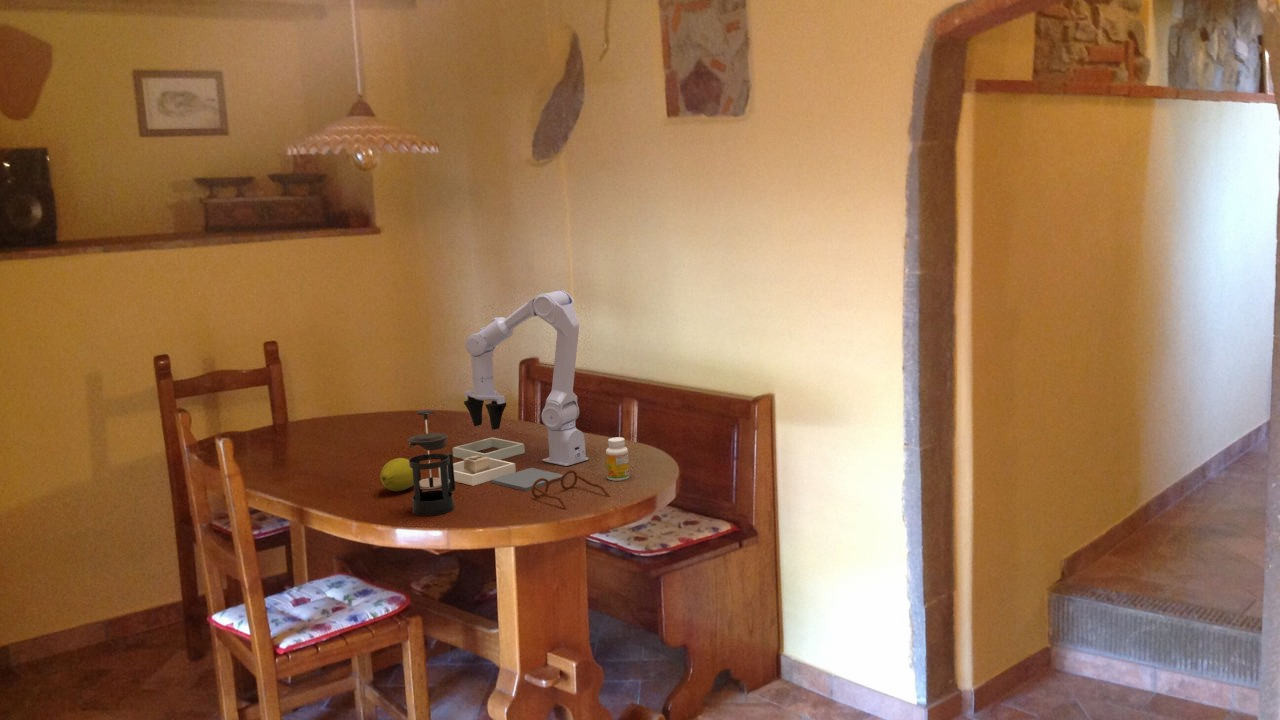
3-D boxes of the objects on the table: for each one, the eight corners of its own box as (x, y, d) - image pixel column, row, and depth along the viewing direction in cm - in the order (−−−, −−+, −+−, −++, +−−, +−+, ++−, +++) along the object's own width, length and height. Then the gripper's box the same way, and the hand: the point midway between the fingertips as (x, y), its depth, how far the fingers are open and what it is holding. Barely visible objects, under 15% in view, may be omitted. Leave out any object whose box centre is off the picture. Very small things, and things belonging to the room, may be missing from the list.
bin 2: (515, 473, 280) (515, 463, 280) (472, 485, 270) (472, 475, 270) (481, 465, 289) (481, 455, 289) (439, 477, 280) (438, 467, 279)
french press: (430, 519, 245) (421, 417, 241) (401, 513, 251) (392, 413, 247) (468, 505, 254) (460, 406, 251) (439, 499, 260) (431, 403, 256)
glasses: (575, 488, 266) (574, 467, 265) (611, 498, 256) (609, 477, 255) (531, 500, 257) (529, 479, 256) (565, 511, 247) (564, 489, 246)
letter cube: (490, 475, 280) (488, 457, 279) (476, 479, 277) (474, 461, 276) (478, 472, 283) (477, 454, 282) (464, 476, 280) (463, 458, 279)
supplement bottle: (604, 477, 272) (602, 438, 271) (625, 474, 274) (622, 435, 273) (611, 482, 267) (609, 442, 266) (632, 479, 269) (630, 440, 268)
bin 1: (524, 452, 300) (524, 443, 300) (485, 463, 291) (484, 454, 290) (492, 446, 310) (492, 437, 309) (453, 456, 300) (452, 447, 300)
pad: (566, 478, 273) (566, 475, 272) (525, 491, 263) (525, 487, 263) (531, 470, 282) (531, 467, 281) (491, 482, 272) (490, 479, 272)
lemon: (404, 483, 276) (401, 452, 274) (426, 487, 271) (424, 455, 270) (370, 494, 267) (367, 462, 266) (393, 499, 263) (390, 466, 261)
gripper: (512, 377, 294) (515, 427, 297) (478, 372, 304) (481, 421, 307) (491, 381, 289) (495, 432, 292) (457, 376, 299) (461, 426, 302)
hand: (486, 427), depth 299 cm, fingers open, 7 cm apart
